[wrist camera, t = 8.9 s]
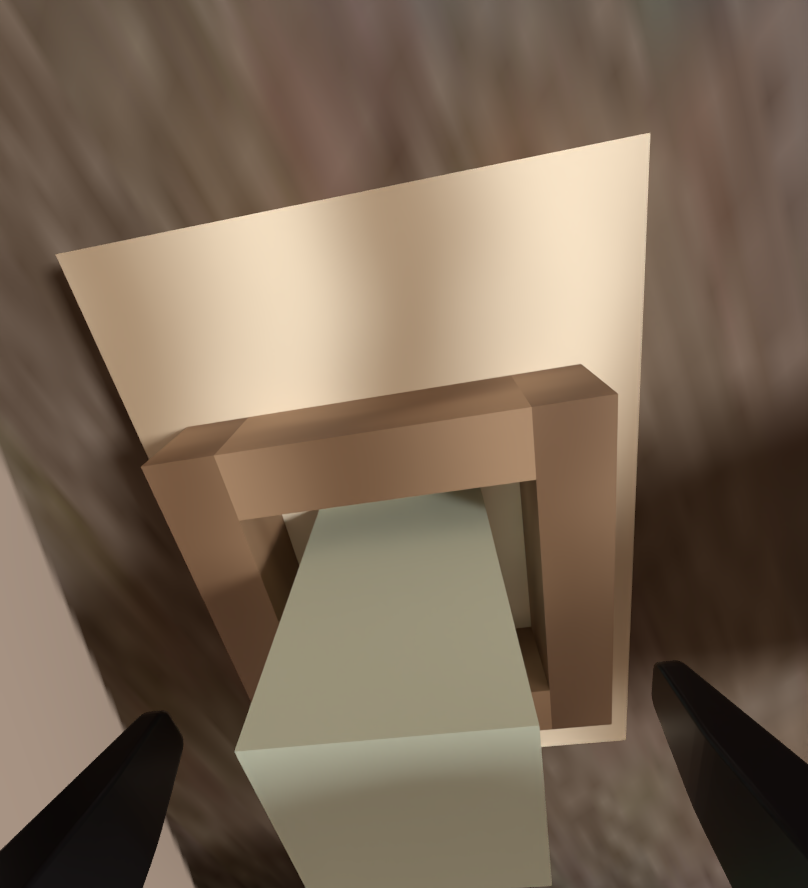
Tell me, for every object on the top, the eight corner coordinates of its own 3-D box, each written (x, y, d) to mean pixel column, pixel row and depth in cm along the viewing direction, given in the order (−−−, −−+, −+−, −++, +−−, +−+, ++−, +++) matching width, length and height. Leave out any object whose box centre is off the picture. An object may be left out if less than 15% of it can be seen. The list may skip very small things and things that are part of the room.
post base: (626, 142, 9) (717, 103, 6) (613, 710, 16) (654, 809, 13) (87, 252, 10) (-34, 260, 7) (296, 739, 17) (273, 835, 14)
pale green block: (479, 484, 11) (539, 724, 6) (494, 607, 13) (551, 885, 7) (320, 505, 12) (233, 752, 6) (354, 622, 13) (310, 898, 8)
